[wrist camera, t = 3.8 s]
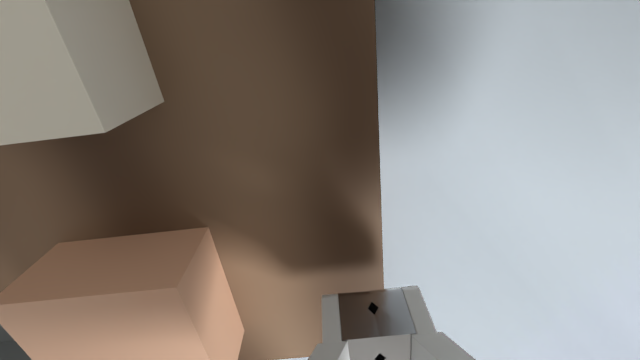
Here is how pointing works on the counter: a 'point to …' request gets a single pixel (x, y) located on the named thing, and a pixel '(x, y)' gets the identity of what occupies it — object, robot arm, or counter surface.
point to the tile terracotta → (126, 301)
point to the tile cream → (71, 69)
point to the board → (230, 160)
